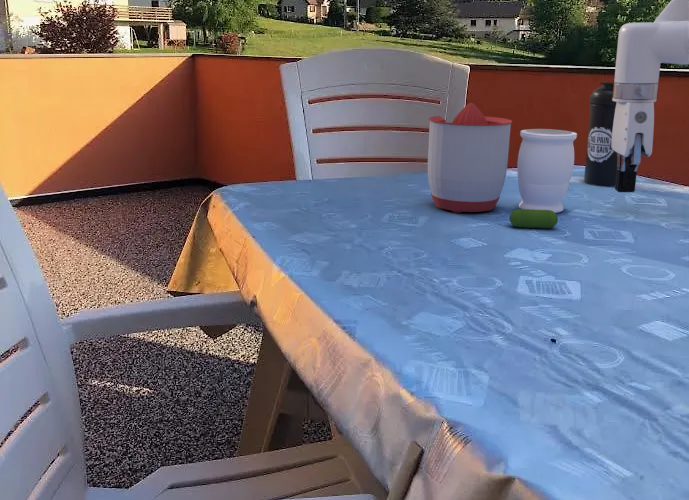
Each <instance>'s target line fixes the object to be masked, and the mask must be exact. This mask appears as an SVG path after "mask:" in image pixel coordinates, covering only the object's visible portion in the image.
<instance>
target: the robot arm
mask: <svg viewBox="0 0 689 500" xmlns="http://www.w3.org/2000/svg"><path fill="white" fill-rule="evenodd" d="M617 36H618V37H617V45H616V46H617V48H616V59H615V69H614V71H615V72H614V88H613V99H612V101H615V102H617V103H616V108H615V115H614V121H613V129H612V142H611V146H612V149H613V150H614V151H615V152H617V156H618V157H617V169H618V170H617V174H616V184H615V186H614V190H615V191H616V192H617V193H635V191H636V185H637V184H636V183H637V173H638V170H639V165H641V163H642V161H641V160H642V156H643V157H646V158H649V157H650V156H651V155H652V153H653V147H654V146H653V145H654V144H653V143H654V129H655V128H654V127H655V103H656V102H657V96H658V89H659V79H660V72H661V71H660V70H661V64H671V65H673V64H674V65H682V66H683V65H689V0H670V1H669V2H668V3H667V4H666V6H665V7H664V8H663V10H662V11H661V12H660V13H659V15H658V16H657V17H656V19H655V20H654V21H653V22H652V21H651V22H650V21H649V22H646V21H645V22H643V21H642V22H628V23H624V24H623V25H622V26H621V27H620V28H619V31H618V35H617Z"/></svg>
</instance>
